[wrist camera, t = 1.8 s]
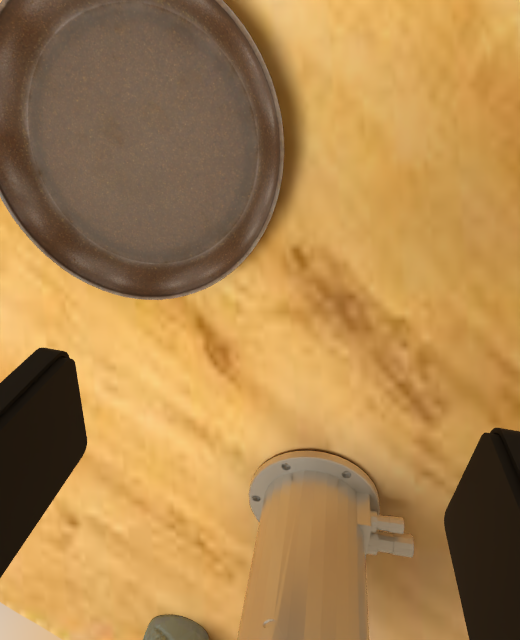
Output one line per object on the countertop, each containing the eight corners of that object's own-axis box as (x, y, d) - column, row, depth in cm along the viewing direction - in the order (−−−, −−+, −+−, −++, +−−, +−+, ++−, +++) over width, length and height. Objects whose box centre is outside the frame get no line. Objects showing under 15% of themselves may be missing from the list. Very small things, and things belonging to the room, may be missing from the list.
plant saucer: (-53, 52, 30) (-95, 48, 27) (214, -117, 24) (196, -146, 21) (98, 311, 38) (78, 329, 35) (329, 236, 31) (328, 251, 29)
